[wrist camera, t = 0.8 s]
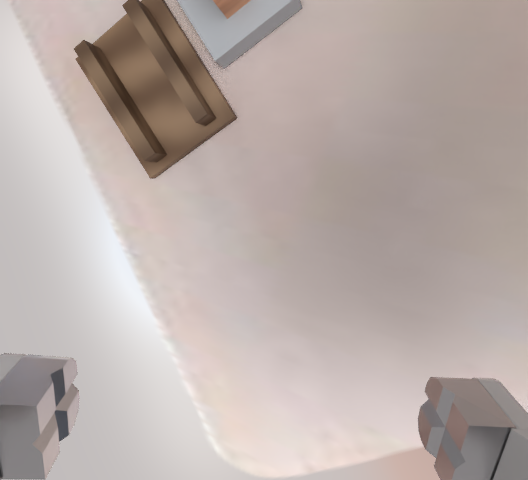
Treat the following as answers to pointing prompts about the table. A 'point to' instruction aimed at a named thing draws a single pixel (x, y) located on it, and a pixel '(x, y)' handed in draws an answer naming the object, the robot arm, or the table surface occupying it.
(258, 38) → the grey square slab
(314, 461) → the table surface
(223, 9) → the tall wooden pillar
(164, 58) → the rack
